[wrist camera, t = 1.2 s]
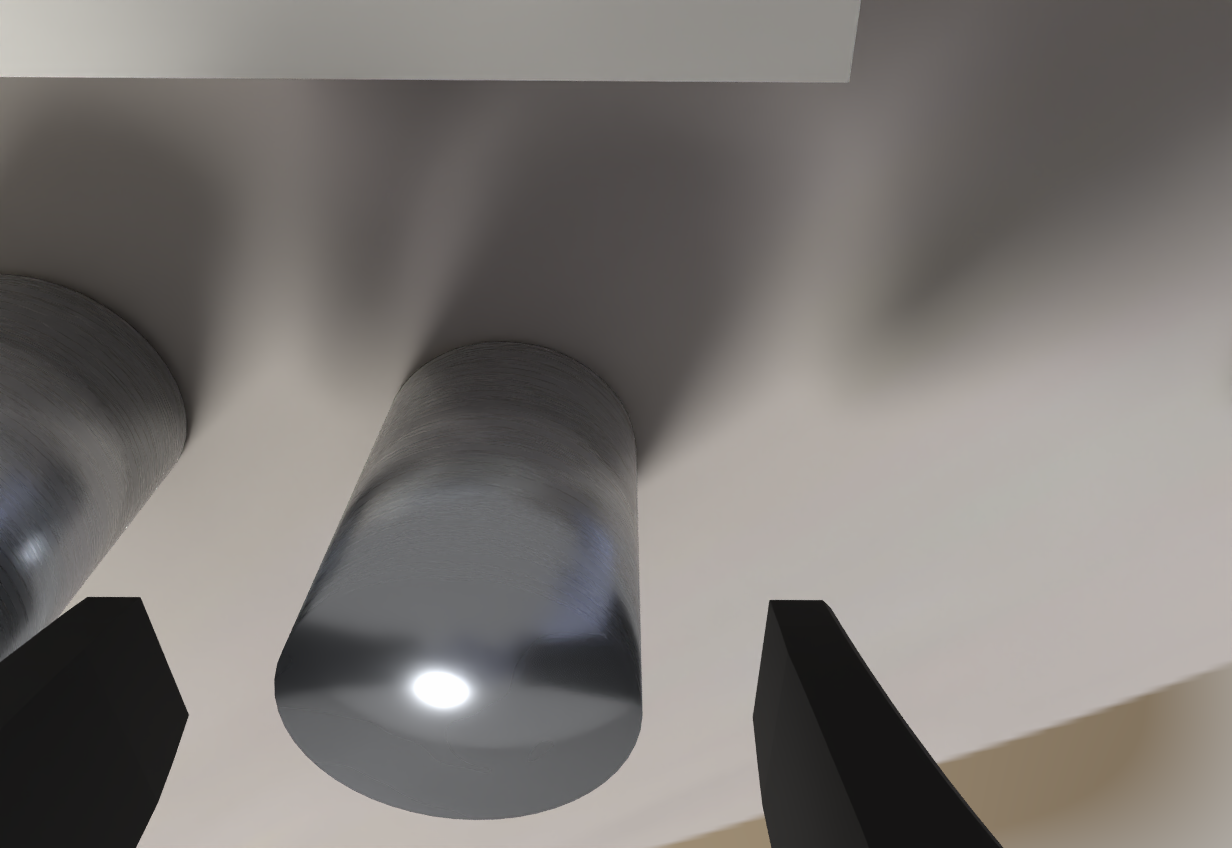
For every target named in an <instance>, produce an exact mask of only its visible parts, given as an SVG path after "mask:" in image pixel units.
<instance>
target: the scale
mask: <svg viewBox="0 0 1232 848" xmlns="http://www.w3.org/2000/svg"><path fill="white" fill-rule="evenodd" d="M860 5H861V0H0V77H82V78H225V79H368V80H511V81H654V82H798V83H849V80H850V73H851V66H852V59H853V53H854V46H855V39H856V32H857V25H858V18H859V12H860Z"/></svg>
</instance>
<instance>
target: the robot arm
mask: <svg viewBox="0 0 1232 848" xmlns="http://www.w3.org/2000/svg"><path fill="white" fill-rule="evenodd" d="M188 716H189V714H188V712H187V709H186V707H185V705H184V702H183V700H182V697H181V695H180V692H179V690H178V687H177V685H176V683H175V680H174V678H173V675H172V673H171V670H170V668H169V666H168V663H167V661H166V658H165V656H164V653H163V651H162V649H161V646H160V644H159V641H158V639H157V636H156V634H155V632H154V629H153V627H152V624H151V622H150V619H149V617H148V614H147V612H146V610H145V607H144V605H143V602H142V600H141V597H87V598H85V599H84V600H82V601H81V602H80V603H78V604H77V605H75V606H74V607H73V608H71V609H70V610H68V611H67V612H66V613H64V614H63V615H61V616H60V617H59V618H57V619H56V620H55V621H53V622H52V623H51V624H49V625H48V626H47V627H45V628H44V629H43V630H41V631H40V632H39V633H37V634H36V635H35V636H33V637H32V638H31V639H29V640H28V641H27V642H26V643H24V644H23V645H22V646H20V647H19V648H18V649H16V650H15V651H14V652H13V653H11V654H10V655H9V656H7V657H6V658H5V659H3V660H2V661H1V662H0V848H136V846H137V844H138V842H139V840H140V838H141V836H142V834H143V832H144V830H145V828H146V826H147V824H148V822H149V820H150V818H151V816H152V814H153V812H154V810H155V808H156V805H157V803H158V801H159V798H160V796H161V793H162V790H163V788H164V785H165V782H166V780H167V777H168V774H169V772H170V769H171V766H172V763H173V761H174V758H175V755H176V752H177V749H178V746H179V743H180V740H181V737H182V734H183V731H184V728H185V725H186V722H187V719H188ZM753 724H754V733H755V743H756V753H757V762H758V771H759V780H760V788H761V797H762V805H763V810H764V815H765V819H766V824H767V829H768V834H769V838H770V843H771V848H1003V847H1002V846H1001V844H1000V843H999V842H998V841H997V840H996V838H995V837H994V836H993V835H992V833H991V832H990V831H989V830H988V829H987V827H986V826H985V825H984V824H983V822H981V820H980V819H979V818H978V817H977V815H976V814H975V813H974V812H973V810H972V809H971V808H970V806H969V805H968V804H967V803H966V801H965V800H964V799H963V797H962V796H961V795H960V794H959V792H958V791H957V790H956V789H955V787H954V786H953V785H952V784H951V782H950V781H949V780H948V778H947V777H946V776H945V774H944V773H943V772H942V770H941V769H940V767H939V766H938V765H937V763H936V762H935V761H934V759H933V758H932V757H931V755H930V754H929V753H928V751H927V750H926V749H925V747H924V746H923V745H922V743H921V742H920V741H919V739H918V738H917V736H916V735H915V734H914V732H913V731H912V730H911V728H910V727H909V726H908V724H907V723H906V721H905V720H904V719H903V717H902V716H901V714H900V713H899V712H898V710H897V709H896V707H895V706H894V704H893V703H892V702H891V700H890V699H889V697H888V696H887V694H886V693H885V691H884V690H883V688H882V687H881V685H880V684H879V683H878V681H877V680H876V678H875V677H874V675H873V674H872V672H871V671H870V669H869V668H868V666H867V665H866V663H865V662H864V660H863V659H862V657H861V656H860V654H859V652H858V651H857V649H856V648H855V646H854V645H853V643H852V642H851V640H850V638H849V637H848V635H847V634H846V632H845V630H844V629H843V627H842V626H841V624H840V622H839V621H838V619H837V617H836V616H835V614H834V613H833V611H832V609H831V608H830V607H829V606H828V605H827V604H826V603H825V602H824V601H823V600H769V607H768V615H767V622H766V629H765V636H764V643H763V650H762V657H761V664H760V671H759V678H758V685H757V692H756V699H755V706H754V713H753Z"/></svg>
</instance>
